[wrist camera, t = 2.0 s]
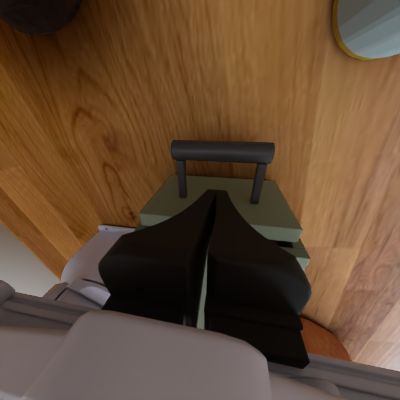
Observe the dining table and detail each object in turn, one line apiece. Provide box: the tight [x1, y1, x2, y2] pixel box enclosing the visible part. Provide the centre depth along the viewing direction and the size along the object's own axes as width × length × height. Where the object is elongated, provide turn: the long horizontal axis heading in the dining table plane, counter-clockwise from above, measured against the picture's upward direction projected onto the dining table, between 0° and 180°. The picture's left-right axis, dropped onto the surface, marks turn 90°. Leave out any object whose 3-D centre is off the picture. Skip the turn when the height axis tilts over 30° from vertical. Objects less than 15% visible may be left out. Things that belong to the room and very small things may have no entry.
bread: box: [301, 318, 352, 362], centre depth 28 cm, size 18×22×17 cm
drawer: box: [139, 140, 302, 246], centre depth 16 cm, size 18×11×8 cm, turn 0°
